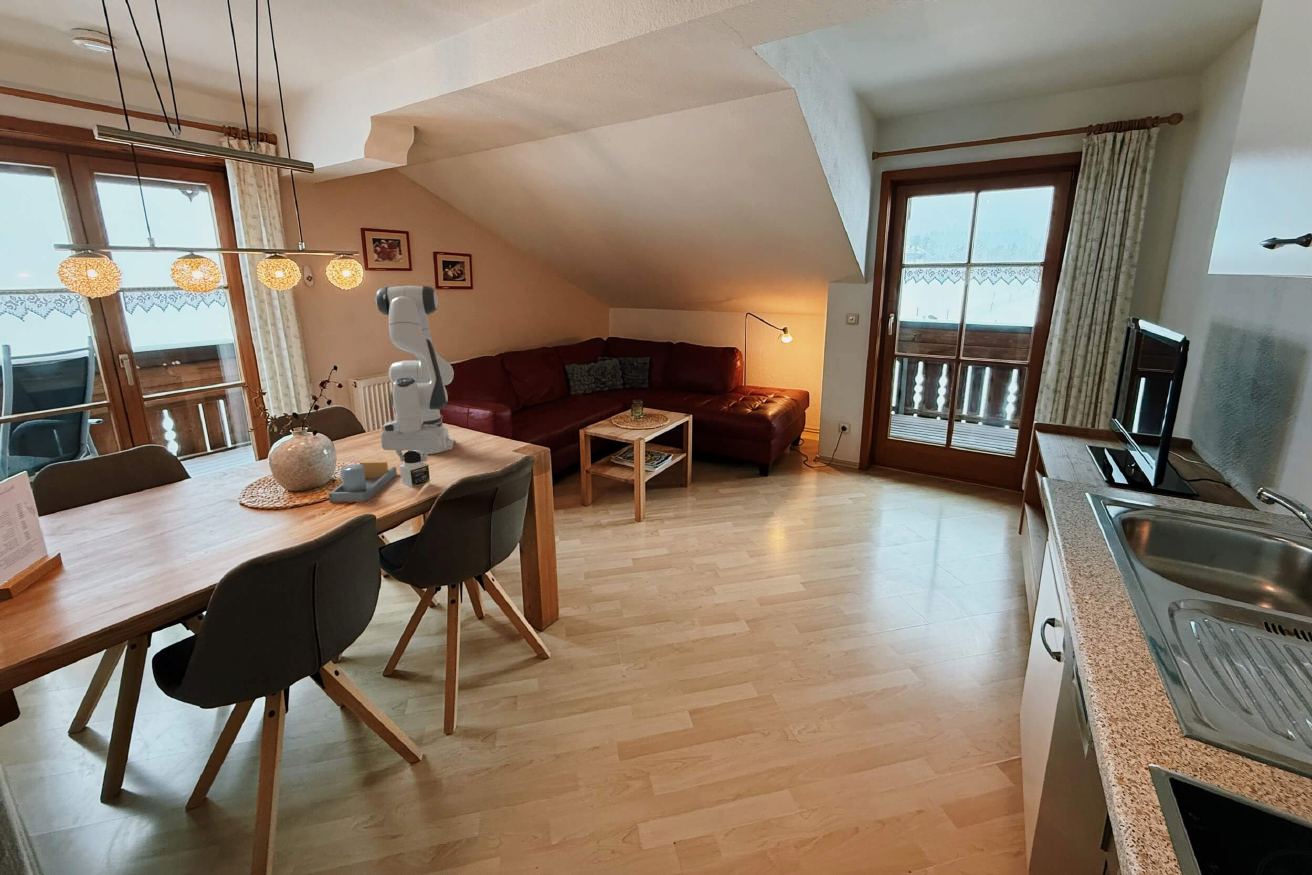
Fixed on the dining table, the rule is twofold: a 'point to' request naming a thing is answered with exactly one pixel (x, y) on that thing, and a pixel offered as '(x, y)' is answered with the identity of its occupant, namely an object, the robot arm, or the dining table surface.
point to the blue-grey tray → (372, 488)
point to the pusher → (374, 469)
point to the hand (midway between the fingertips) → (414, 460)
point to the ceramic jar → (353, 478)
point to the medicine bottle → (414, 469)
